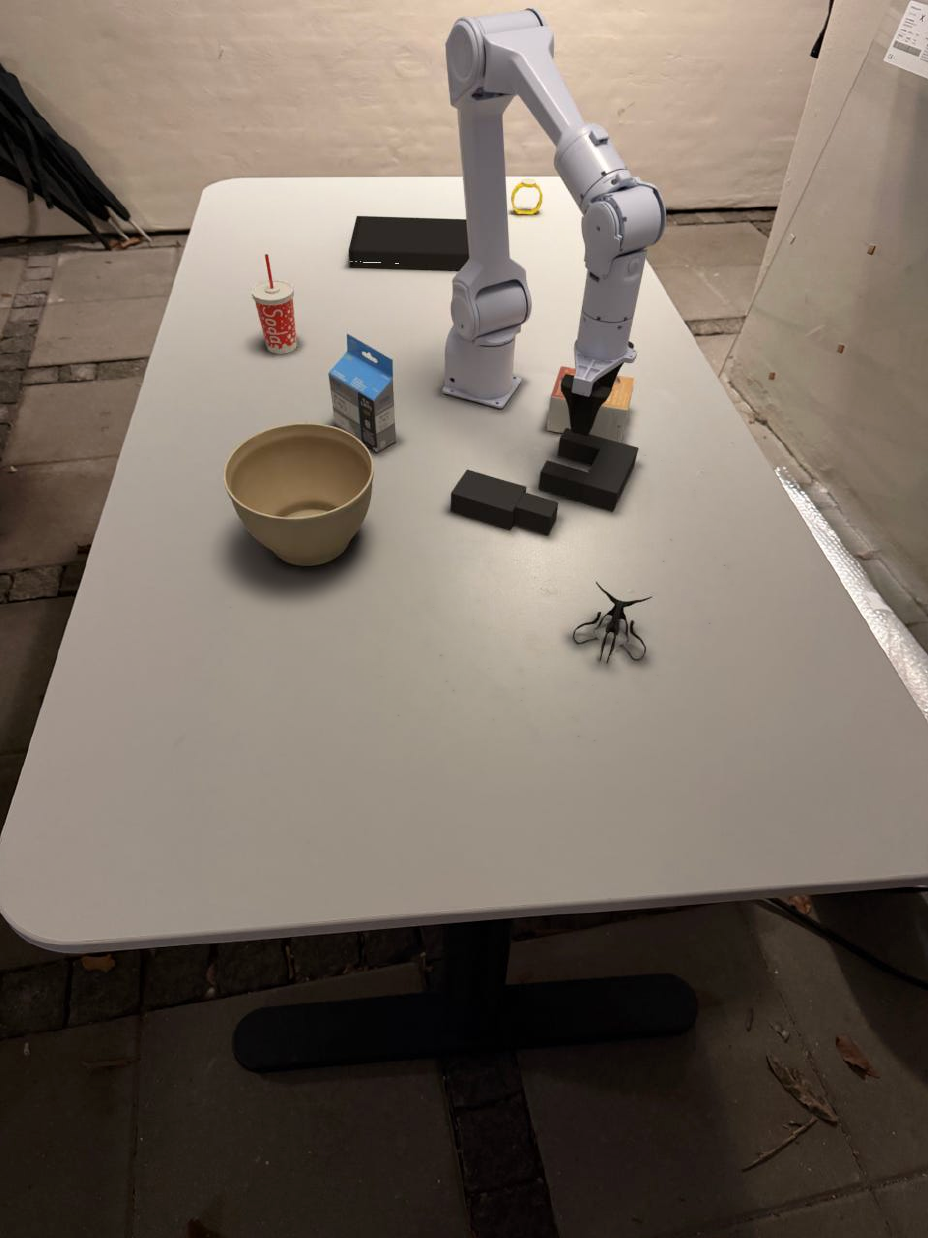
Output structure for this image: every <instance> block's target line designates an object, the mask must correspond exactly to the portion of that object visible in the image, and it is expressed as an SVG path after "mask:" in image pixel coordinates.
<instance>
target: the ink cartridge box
mask: <svg viewBox="0 0 928 1238" xmlns="http://www.w3.org/2000/svg"><path fill="white" fill-rule="evenodd" d="M363 352H364V353H366V354H368V353H369V354H370V356H371V357H372V358H373V359H375V360H376V362H375V361H374V360H372V359H370V358H369V357H368V356H366V355H364V354H363ZM327 375H328V381H329V389H330V396H331V397H330V398H331V404H332V412H333V419H334V420H333V421H334V425H335V427H336V428H339V429H342V430H344V431H346V432H348V433H350V434H352V435H353V436H355V437H356V438H358V439H359V440H360V441H361V442H362V443H363V444H364V445H365V446H366V447H367V448H370V449H371V450H373V451H374V452H375V453H380V452H382V451H383V450H385V449H386V448H388V447H389V446H392V445H393V444H394V443H396V441H397V437H396V435H397V434H396V432H397V431H396V414H395V412H396V411H395V394H394V393H395V391H394V360H393V358H390V357H389V356H387V355H385V354H384V353H382V352H380V351H378V350H377V349H375V348H373V347H372V346H370V345H368V344H366V343H365V342H364V341H361V340H360V339H358V338H356V337H354V336H352V335H351V334H349V333H346V352H345V353H344V354H343V355H342V357H340V359H339V360H338V361H337V362H336V364H334V366H332V368H331V369H330V370H329V372H328V373H327Z"/></svg>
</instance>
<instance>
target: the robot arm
mask: <svg viewBox="0 0 928 1238" xmlns="http://www.w3.org/2000/svg"><path fill="white" fill-rule="evenodd" d="M554 37H555V35H554V32H553V31H552V29H551V28H550V27H549V25H548V23H547V20H546V18H545V16H544V15H543V13H542V12H541V11H540V10H539V9H538V8H535V7H527V8H525V9H523V10H518V11H510V12H509V11H508V12H502V13H501V12H500V13H494V14H486V15H480V16H479V15H477V16H471V17H470V16H460V17H459V18H458V19H456V20H455V22H454V23H453V25H452V28H451V30H450V32H449V34H448V37H447V39H446V41H445V43H444V44H445V45H444V46H445V60H446V72H447V84H448V92H449V103H450V106H451V107H452V108H454V109H456V112H457V113H456V114H457V123H458V124H457V125H458V135H459V148H460V150H459V151H460V160H461V172H462V184H463V194H464V195H463V199H464V210H465V219H466V222H467V234H468V246H469V260H468V261H467V263H466V264H465V265H464V266H463V267H462V268H461V270H458V272H457V273H456V274H455V275H454V276H453V278H452V279H451V283H452V285H451V286H452V295H451V302H450V316H451V321H452V326H451V327H450V329H449V332H448V334H447V337H446V341H445V347H444V386H443V388H442V393H443V394H447V395H449V396H453V397H457V398H461V399H465V400H469V401H471V402H475V403H479V404H482V405H486V406H490V407H493V408H498V409H503V408H504V407H505V405H506V404H507V403H508V401H509V400H510V398H511V397H512V396H513V394H514V393H515V391H516V390H517V389H518V387H519V385H520V384H521V382H522V378H521V377H519V376H516V375H513V374H514V364H515V349H516V337H517V335H519V334H520V333H521V332H522V325H525V324H526V323H528V321H529V320H530V317H531V314H532V313H531V312H532V308H533V299H532V295H531V291H530V288H529V285H528V280H527V270H526V268H524V266H522V265H521V264H520V263H519V262H517V261H515V260H514V259H512V258H511V254H510V235H509V217H508V215H509V214H508V197H507V179H506V161H505V160H506V158H505V139H504V122H503V121H504V120H503V117H504V116H503V115H504V114H505V112H506V110H507V108H508V107H509V106H510V104H511V103H512V101H513V99H515V97H516V96H517V97H519V98H520V100H521V101H522V102H523V104H524V105H525V106H526V108H527V109H528V110H529V112H530V113H531V115H532V116H533V118H534V119H535V120H536V121H537V123H538V124H539V126H540V128H542V130H543V131H544V132H545V134H546V135H547V137H548V138H549V139H550V140H551V142H552V144H553V145H554V147H555V148H556V149H555V152H554V157H553V167H554V169H555V171H556V172H557V174H558V176H559V178H560V179H561V182H562V183H563V184H564V186H565V188H566V190H567V191H568V192H569V194H570V196H571V198H572V199H573V201H574V203H575V204H576V206H577V207H578V209H579V211H580V212H581V214H582V216H581V222H580V223H581V224H580V225H581V226H580V229H581V236H582V240H583V244H584V256H583V257H584V258H583V262H584V267H585V269H587V270H586V277H585V283H584V288H583V289H584V290H583V296H582V304H581V310H580V317H579V323H578V330H577V335H576V336H577V337H576V340H575V341H574V345H573V357H574V368H575V371H576V374H575V376H573V375H569V374H565V376H564V377H563V379H562V381H561V392H562V393H563V395H564V397H565V399H566V402H567V405H568V410H569V418H570V427H571V432H572V433H576V434H580V435H583V436H588V435H589V433H590V431H591V429H592V427H593V424H594V422H595V419H596V416H597V413H598V411H599V408H600V407H601V405H602V404H603V403H604V402H606V400H607V398H608V397H609V395H610V393H611V391H612V387H613V385H614V382H615V380H616V377H617V376H619V372H620V370H621V368H622V367H623V365H624V364H633V363H635V361H636V359H637V355H638V350H637V349H635V345H634V343H633V342H631V341H630V337H631V332H632V327H633V322H634V317H635V313H636V307H637V303H638V298H639V293H640V288H641V283H642V278H643V273H644V268H645V264H646V258H647V254H648V248H650V247H651V246H652V247H653V246H654V245H656V244H657V243H659V241H660V240H661V238H662V237H663V234H664V232H665V229H666V225H667V209H666V206H665V202H664V199H663V197H662V195H661V193H660V190H659V188H658V187H657V186H656V185H654V183H652V182H649V181H648V182H647V181H642V179H641V178H640V176H633V174H632V173H631V171H630V170H629V168H628V167H627V165H626V163H625V162H624V160H623V159H622V157H621V155H620V154H619V152H618V151H617V149H616V147H615V145H614V144H613V143H612V140H611V139H610V135H609V133H608V132H607V130H606V129H605V127H602V126H601V125H600V124H598V123H585V120H584V118H583V116H582V114H581V112H580V110H579V109H578V106H577V103H576V102H575V100H574V99H573V96H572V94H571V93H570V89H569V88H568V86H567V83H566V82H565V80H564V78H563V76H562V74H561V72H560V70H559V68H558V65H557V64H556V62H555V60H554V55H555V38H554Z"/></svg>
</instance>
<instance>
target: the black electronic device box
mask: <svg viewBox="0 0 928 1238" xmlns="http://www.w3.org/2000/svg"><path fill="white" fill-rule="evenodd" d="M468 260H469V246H468V234H467V222H466V218H440V217H439V218H438V217H437V218H435V217H434V218H433V217H409V216H408V217H405V216H379V215H377V216H375V215H373V216H372V215H356V217H355V222H354V225H353V230H352V234H351V238H350V242H349V245H348V261H353V262H349V268H366V269H367V268H370V269H373V268H374V269H399V270H400V269H401V270H402V269H403V270H431V271H435V270H436V271H460V270H461V268H462V267H463V266H464V265H465V264H466V263H467V261H468ZM355 261H357V262H355ZM360 261H361V262H360ZM363 262H381V263H363ZM395 263H399V264H395Z"/></svg>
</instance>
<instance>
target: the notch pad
mask: <svg viewBox="0 0 928 1238" xmlns="http://www.w3.org/2000/svg"><path fill="white" fill-rule="evenodd" d="M638 452H639V447H637V446H634V445H630V444H628V443H627V444H626V443H623V442H621V443H620V442H616V441H613V440H609V439H605V438H602V437H598V436H594V435H591V434H589V435H588V436H583V435H580V434H576V433H572V432H571V429H569V428H565V430H564V432H563V433H561V435H560V437H559V441H558V448H557V455H556V456H557V457H559V458H562V459H566V460H570V461H574V462H577V463H580V464H584V465H587V466H590V468H589V470H588V471H587V470H583V469H579V468H575V467H573V466H570V465H565V464H562V463H559V462H555V461H552V460H548V459H547V460H546V462H545V463H544V465H543V466H542V468H541V470H540V473H539V481H538V490H539V491H541V492H542V491H543V492H544V493H545V492H546V493H548V494H553V495H555V496H558V497H563V498H566V499H569V500H572V501H576V502H579V503H583V504H586V505H589V506H593V507H596V508H599V509H603V510H606V511H610V512H614V511H615V509H616V507H617V505H618V503H619V500H620V499H621V496H622V494H623V491H624V489H625V487H626V485H627V483H628V482H629V481H628V480H629V478H630V476H631V474H632V472H633V471H634V470H633V469H634V468H635V465H636V461H637V456H638Z"/></svg>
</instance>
